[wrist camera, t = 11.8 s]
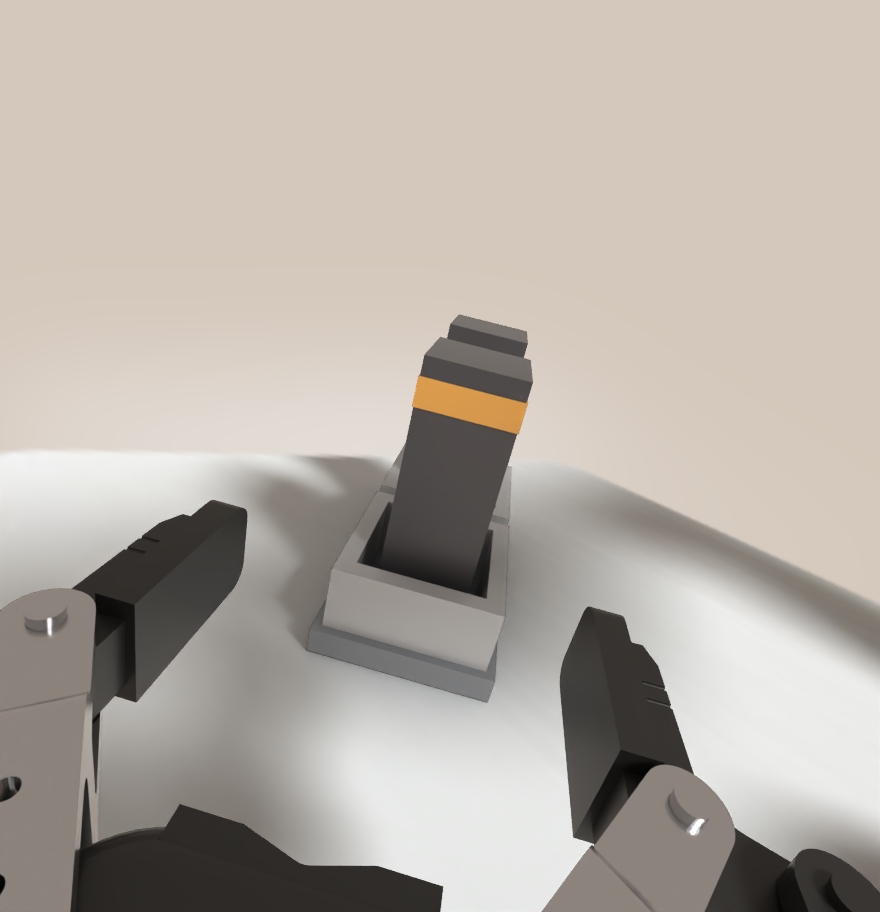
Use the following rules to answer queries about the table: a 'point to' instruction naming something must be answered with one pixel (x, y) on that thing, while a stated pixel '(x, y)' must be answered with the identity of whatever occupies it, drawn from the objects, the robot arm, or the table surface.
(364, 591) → the grey double socket holder
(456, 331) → the twin plug
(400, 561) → the plug
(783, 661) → the table surface
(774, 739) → the table surface
